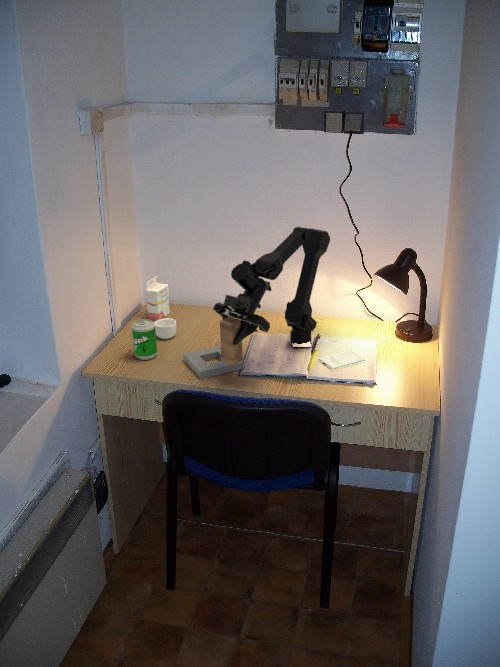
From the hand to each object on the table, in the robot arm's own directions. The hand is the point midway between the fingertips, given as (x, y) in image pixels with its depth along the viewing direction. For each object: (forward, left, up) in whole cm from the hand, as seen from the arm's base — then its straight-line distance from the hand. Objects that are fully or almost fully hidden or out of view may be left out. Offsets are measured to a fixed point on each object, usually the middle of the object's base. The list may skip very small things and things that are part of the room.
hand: (228, 342), depth 193 cm
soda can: (+27, -21, -14) cm, 37 cm away
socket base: (+5, -12, -13) cm, 19 cm away
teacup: (+21, -37, -14) cm, 45 cm away
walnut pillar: (-1, -1, -7) cm, 7 cm away
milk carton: (+25, -55, -14) cm, 62 cm away
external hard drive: (-36, -11, -14) cm, 40 cm away
